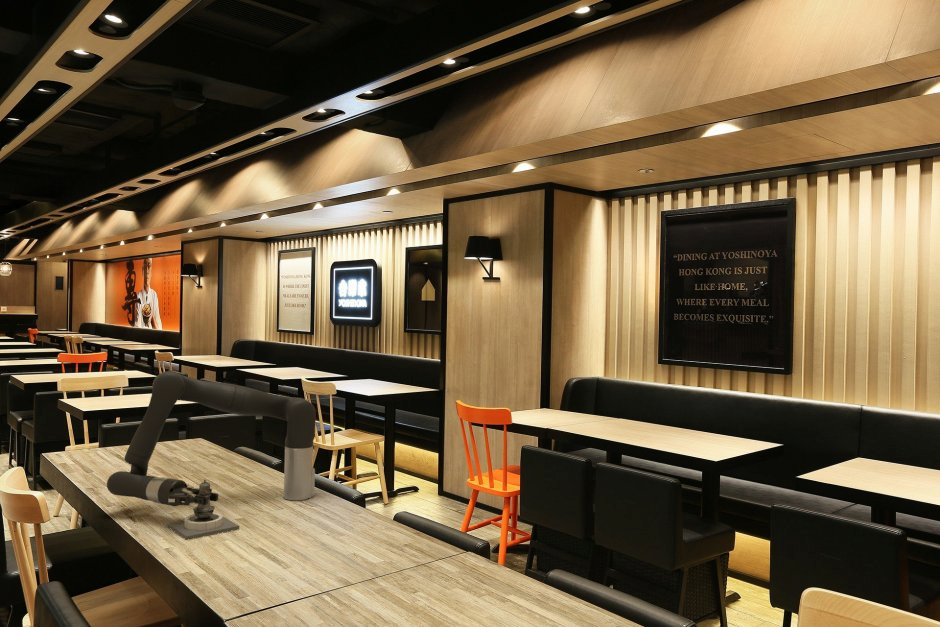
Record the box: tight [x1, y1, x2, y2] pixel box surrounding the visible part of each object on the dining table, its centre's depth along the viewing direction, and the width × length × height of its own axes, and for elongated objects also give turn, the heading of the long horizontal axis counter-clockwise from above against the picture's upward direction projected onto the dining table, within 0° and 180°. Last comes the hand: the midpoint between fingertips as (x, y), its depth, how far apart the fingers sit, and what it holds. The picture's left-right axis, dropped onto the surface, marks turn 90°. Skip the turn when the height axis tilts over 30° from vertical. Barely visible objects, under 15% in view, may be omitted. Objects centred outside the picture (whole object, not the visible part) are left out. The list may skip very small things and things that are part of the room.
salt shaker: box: [192, 479, 216, 522], centre depth 196 cm, size 6×6×12 cm
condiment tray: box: [167, 512, 240, 541], centre depth 196 cm, size 15×14×3 cm
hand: (212, 499), depth 195 cm, fingers closed on salt shaker, 3 cm apart
